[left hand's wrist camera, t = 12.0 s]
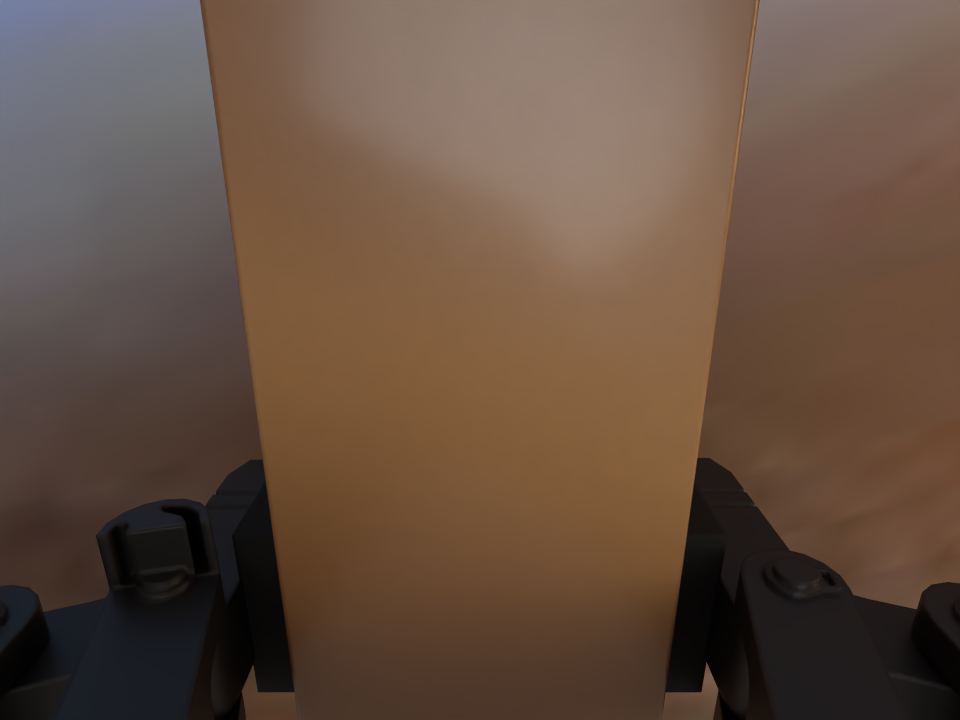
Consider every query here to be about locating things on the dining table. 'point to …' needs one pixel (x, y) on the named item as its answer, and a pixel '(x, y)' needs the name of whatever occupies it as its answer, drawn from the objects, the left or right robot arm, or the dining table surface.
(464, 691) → the post
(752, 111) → the dining table surface
